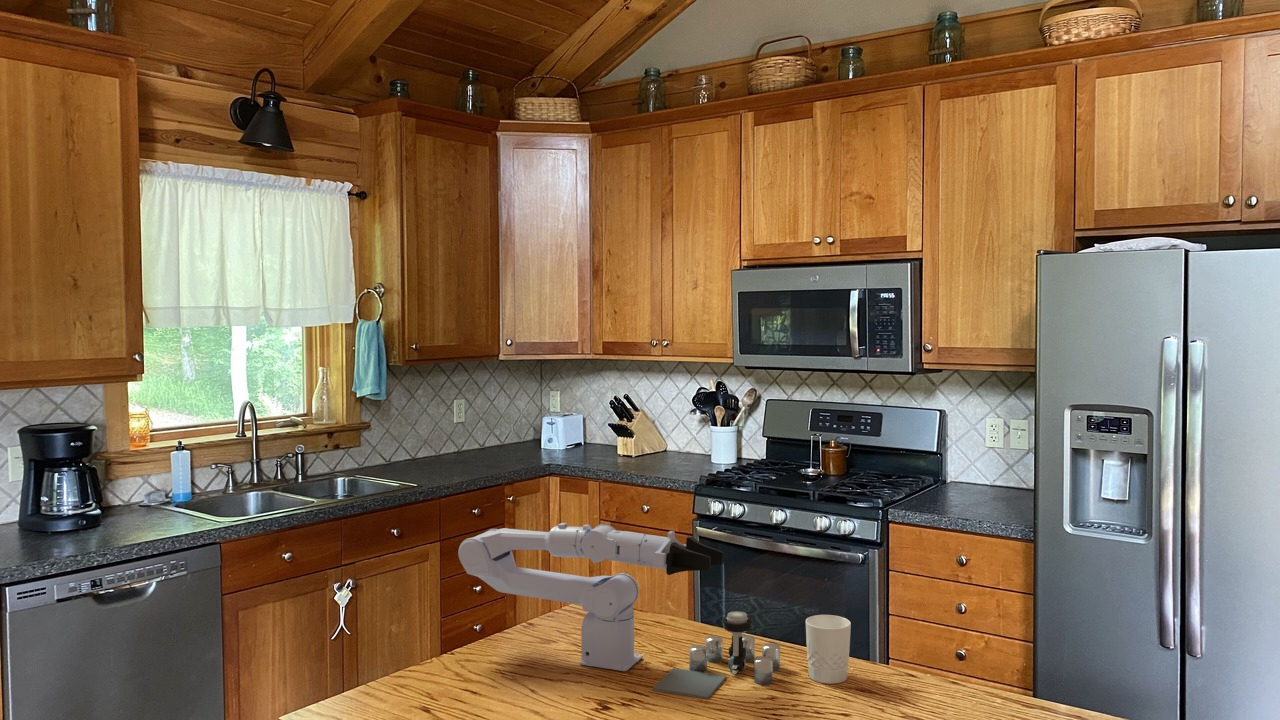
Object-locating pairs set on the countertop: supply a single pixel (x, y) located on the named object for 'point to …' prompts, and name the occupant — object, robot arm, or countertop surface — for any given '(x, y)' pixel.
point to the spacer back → (749, 647)
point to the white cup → (828, 648)
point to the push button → (737, 638)
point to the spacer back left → (714, 648)
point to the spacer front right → (763, 670)
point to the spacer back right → (772, 654)
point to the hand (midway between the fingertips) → (716, 560)
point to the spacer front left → (698, 658)
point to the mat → (690, 683)
